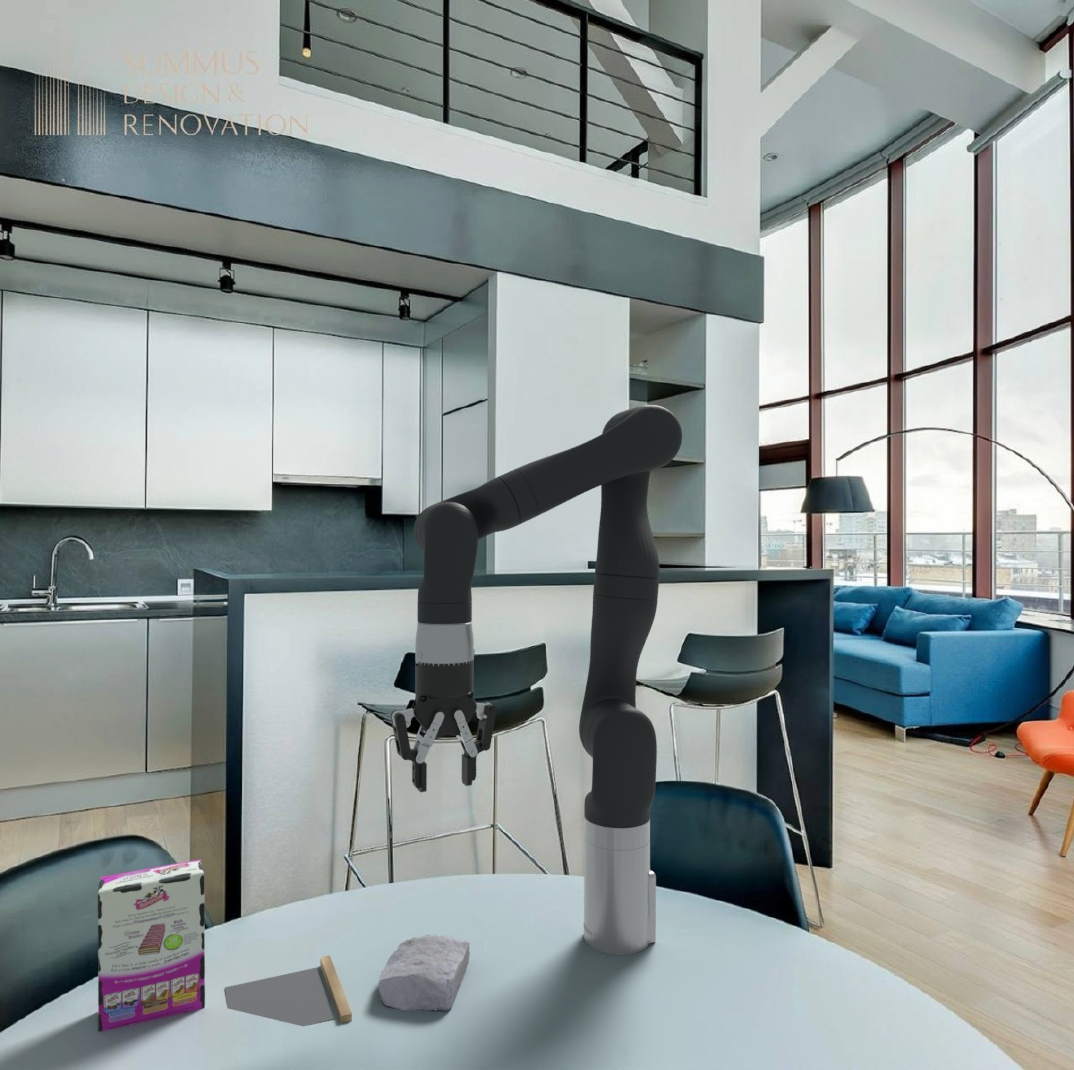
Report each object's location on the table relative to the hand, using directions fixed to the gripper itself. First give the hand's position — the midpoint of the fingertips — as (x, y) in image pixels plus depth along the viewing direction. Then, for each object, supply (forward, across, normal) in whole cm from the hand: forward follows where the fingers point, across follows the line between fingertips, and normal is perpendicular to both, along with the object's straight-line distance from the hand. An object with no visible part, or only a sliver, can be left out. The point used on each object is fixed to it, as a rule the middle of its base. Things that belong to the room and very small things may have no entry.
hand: (444, 786), depth 103 cm
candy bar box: (+24, +34, -4) cm, 42 cm away
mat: (+23, +21, 0) cm, 31 cm away
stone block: (+23, +8, 0) cm, 24 cm away
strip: (+23, +14, 0) cm, 27 cm away
